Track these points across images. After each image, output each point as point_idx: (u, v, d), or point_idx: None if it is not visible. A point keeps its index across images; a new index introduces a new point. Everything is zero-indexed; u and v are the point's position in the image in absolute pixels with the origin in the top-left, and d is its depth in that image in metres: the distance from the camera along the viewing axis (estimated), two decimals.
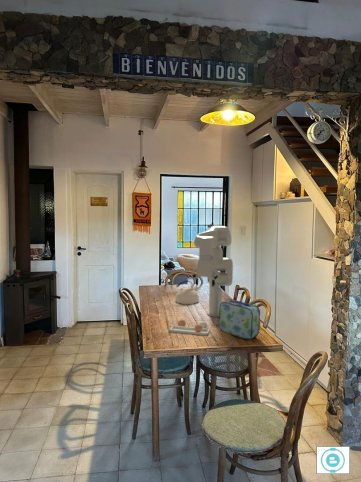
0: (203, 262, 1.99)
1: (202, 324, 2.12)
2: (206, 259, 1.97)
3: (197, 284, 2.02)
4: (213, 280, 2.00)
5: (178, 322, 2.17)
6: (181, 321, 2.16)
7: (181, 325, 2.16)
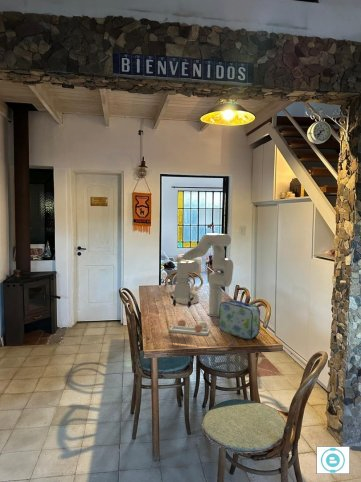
0: (180, 285, 2.13)
1: (202, 324, 2.12)
2: (182, 282, 2.12)
3: (174, 305, 2.17)
4: None
5: (178, 322, 2.17)
6: (181, 321, 2.16)
7: (181, 325, 2.16)
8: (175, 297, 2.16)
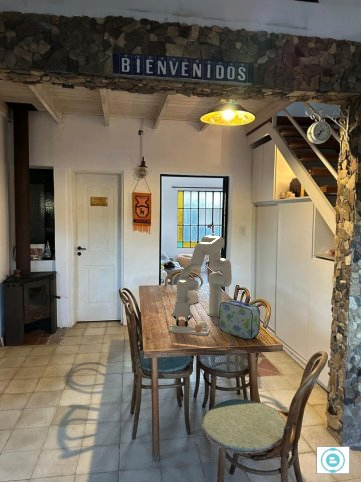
0: (180, 303, 2.15)
1: (202, 324, 2.12)
2: (182, 301, 2.13)
3: (178, 325, 2.18)
4: None
5: (178, 322, 2.17)
6: (181, 321, 2.16)
7: (181, 325, 2.16)
8: (177, 317, 2.17)
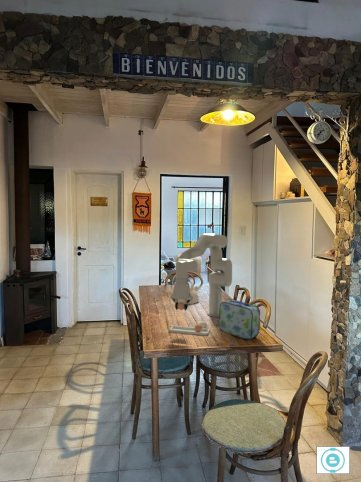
0: (179, 285, 2.05)
1: (202, 324, 2.12)
2: (182, 282, 2.03)
3: (177, 308, 2.08)
4: None
5: (177, 305, 2.08)
6: (180, 304, 2.06)
7: (180, 308, 2.06)
8: (176, 299, 2.07)
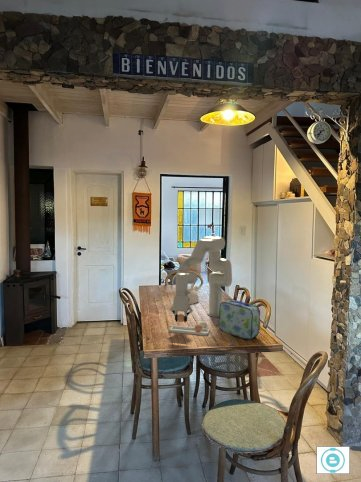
0: (179, 297, 2.05)
1: (202, 324, 2.12)
2: (182, 295, 2.04)
3: (176, 320, 2.08)
4: None
5: (177, 317, 2.08)
6: (180, 316, 2.07)
7: (180, 320, 2.06)
8: (176, 311, 2.07)
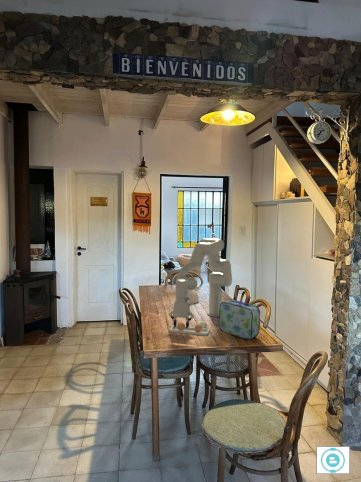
0: (179, 304, 2.06)
1: (202, 324, 2.12)
2: (181, 301, 2.04)
3: (175, 325, 2.09)
4: (187, 322, 2.07)
5: (177, 325, 2.09)
6: (180, 324, 2.07)
7: (180, 329, 2.07)
8: (175, 317, 2.08)
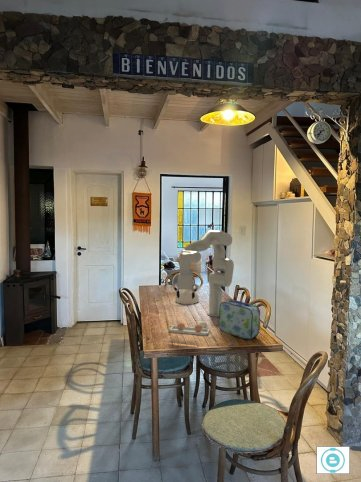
0: (183, 276, 2.11)
1: (202, 324, 2.12)
2: (186, 273, 2.10)
3: (178, 296, 2.15)
4: (193, 292, 2.13)
5: (177, 326, 2.09)
6: (180, 325, 2.07)
7: (180, 329, 2.07)
8: (178, 289, 2.14)
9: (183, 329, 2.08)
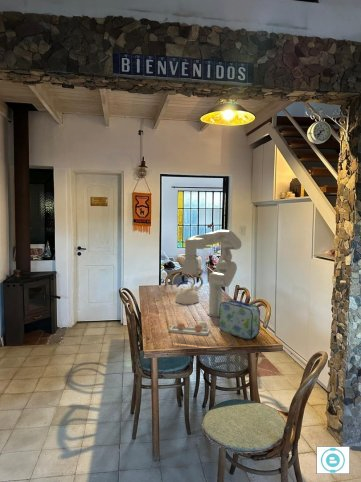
0: (188, 261, 2.21)
1: (202, 324, 2.12)
2: (191, 258, 2.20)
3: (183, 280, 2.25)
4: None
5: (177, 326, 2.09)
6: (180, 325, 2.07)
7: (180, 329, 2.07)
8: (184, 273, 2.24)
9: (183, 329, 2.08)
